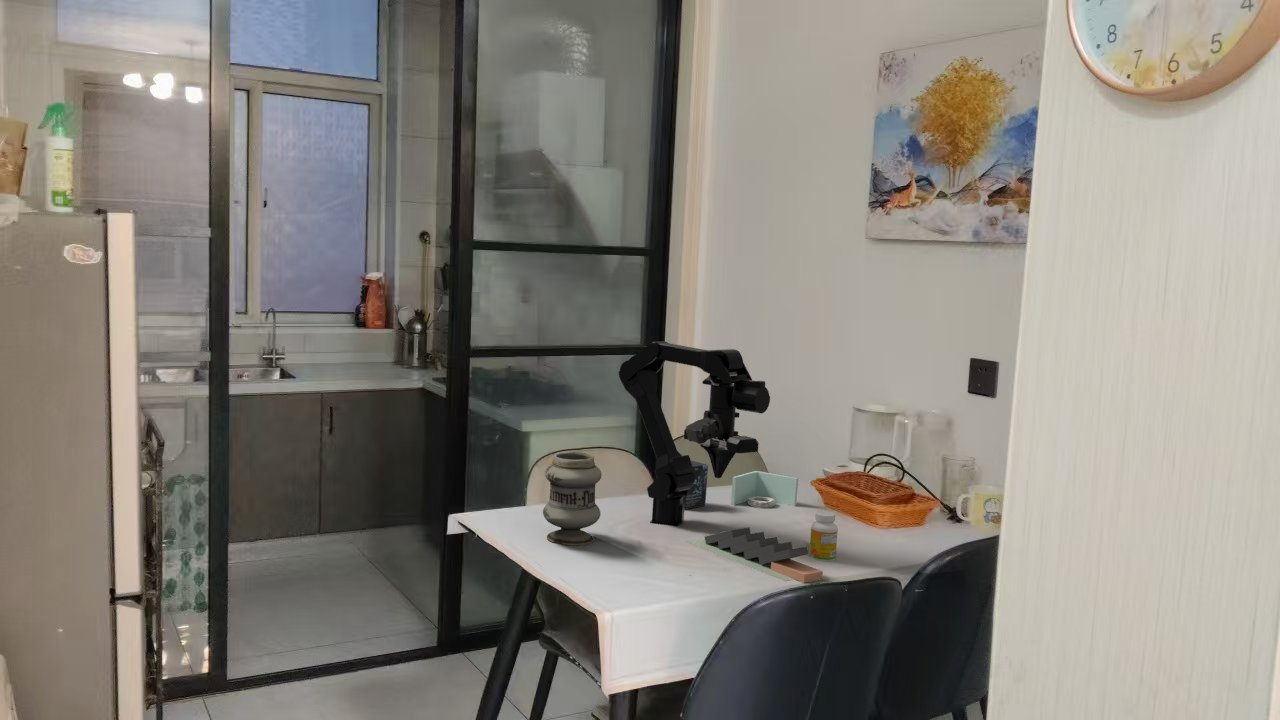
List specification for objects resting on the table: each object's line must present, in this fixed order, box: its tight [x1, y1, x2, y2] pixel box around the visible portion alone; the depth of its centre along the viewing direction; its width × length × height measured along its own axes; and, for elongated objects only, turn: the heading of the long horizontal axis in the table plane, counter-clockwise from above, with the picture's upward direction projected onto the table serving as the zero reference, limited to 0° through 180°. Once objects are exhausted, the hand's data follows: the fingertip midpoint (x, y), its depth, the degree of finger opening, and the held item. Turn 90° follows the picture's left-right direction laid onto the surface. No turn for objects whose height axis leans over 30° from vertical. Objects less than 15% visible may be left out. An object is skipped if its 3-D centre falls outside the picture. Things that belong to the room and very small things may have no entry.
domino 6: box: [771, 558, 824, 584], centre depth 204 cm, size 2×5×9 cm
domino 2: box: [718, 531, 766, 549], centre depth 217 cm, size 2×5×9 cm
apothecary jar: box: [542, 451, 602, 546], centre depth 221 cm, size 12×12×18 cm
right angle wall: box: [730, 470, 799, 509], centre depth 263 cm, size 12×12×8 cm
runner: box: [685, 538, 796, 582], centre depth 214 cm, size 30×10×1 cm, turn 36°
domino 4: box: [744, 541, 794, 560], centre depth 210 cm, size 2×5×9 cm
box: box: [682, 460, 709, 511], centre depth 257 cm, size 8×6×11 cm
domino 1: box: [704, 526, 752, 544], centre depth 220 cm, size 2×5×9 cm
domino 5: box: [758, 545, 809, 565], centre depth 207 cm, size 2×5×9 cm
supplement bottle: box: [808, 510, 838, 562], centre depth 217 cm, size 5×5×10 cm
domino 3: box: [730, 536, 779, 554], centre depth 213 cm, size 2×5×9 cm
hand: (717, 477), depth 229 cm, fingers closed
